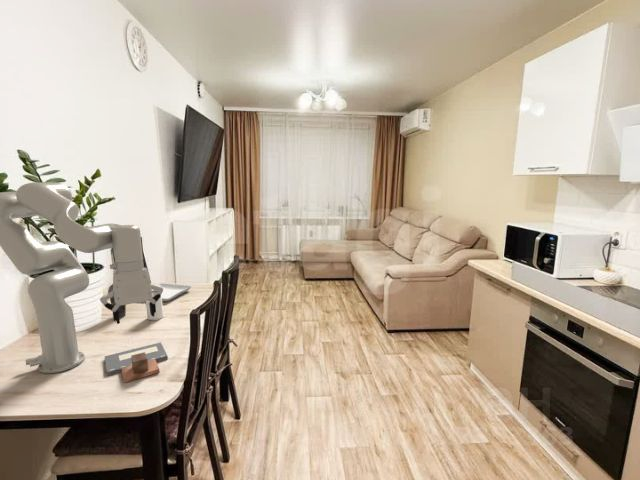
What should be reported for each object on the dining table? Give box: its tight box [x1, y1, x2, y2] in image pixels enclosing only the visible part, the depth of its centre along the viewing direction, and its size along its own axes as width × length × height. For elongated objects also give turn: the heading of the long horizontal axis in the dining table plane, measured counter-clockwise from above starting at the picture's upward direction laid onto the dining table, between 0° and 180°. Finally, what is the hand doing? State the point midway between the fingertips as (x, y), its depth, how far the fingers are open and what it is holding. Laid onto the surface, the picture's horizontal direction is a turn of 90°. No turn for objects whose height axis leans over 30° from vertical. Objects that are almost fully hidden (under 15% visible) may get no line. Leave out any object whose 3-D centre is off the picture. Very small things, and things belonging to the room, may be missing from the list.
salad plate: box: [151, 282, 192, 302], centre depth 184 cm, size 21×21×3 cm
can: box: [145, 290, 164, 321], centre depth 154 cm, size 6×6×12 cm
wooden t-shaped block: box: [121, 352, 160, 383], centre depth 111 cm, size 10×7×5 cm
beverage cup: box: [107, 272, 127, 319], centre depth 155 cm, size 7×7×20 cm
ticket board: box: [104, 342, 169, 377], centre depth 120 cm, size 18×12×1 cm, turn 125°
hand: (135, 318), depth 108 cm, fingers open, 9 cm apart
